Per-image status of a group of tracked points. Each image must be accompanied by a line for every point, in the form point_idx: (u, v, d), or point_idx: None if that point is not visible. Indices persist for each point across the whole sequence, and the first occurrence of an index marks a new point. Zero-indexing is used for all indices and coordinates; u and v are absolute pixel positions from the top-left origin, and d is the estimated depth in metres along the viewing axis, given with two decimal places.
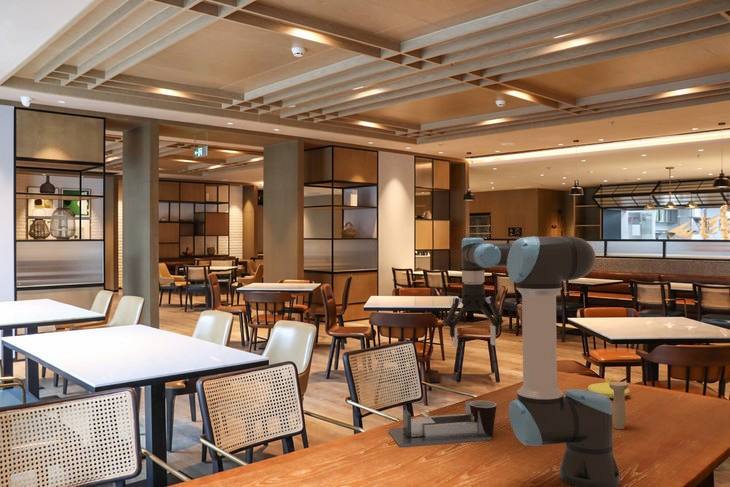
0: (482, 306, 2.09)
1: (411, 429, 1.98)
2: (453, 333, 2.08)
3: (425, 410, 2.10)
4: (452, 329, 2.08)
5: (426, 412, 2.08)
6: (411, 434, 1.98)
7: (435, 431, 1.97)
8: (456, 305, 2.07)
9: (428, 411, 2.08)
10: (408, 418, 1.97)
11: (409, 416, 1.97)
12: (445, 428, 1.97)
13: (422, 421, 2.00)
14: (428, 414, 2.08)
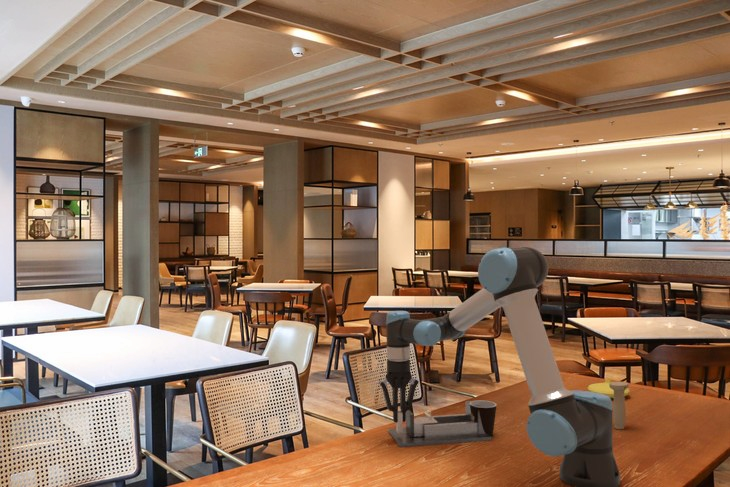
0: (404, 385, 1.98)
1: (414, 429, 1.98)
2: (396, 418, 1.99)
3: (427, 410, 2.10)
4: (395, 414, 1.99)
5: (428, 412, 2.08)
6: (414, 434, 1.98)
7: (435, 431, 1.97)
8: (385, 389, 1.98)
9: (430, 411, 2.08)
10: (411, 418, 1.98)
11: (412, 416, 1.98)
12: (445, 428, 1.97)
13: (425, 421, 2.00)
14: (430, 414, 2.08)
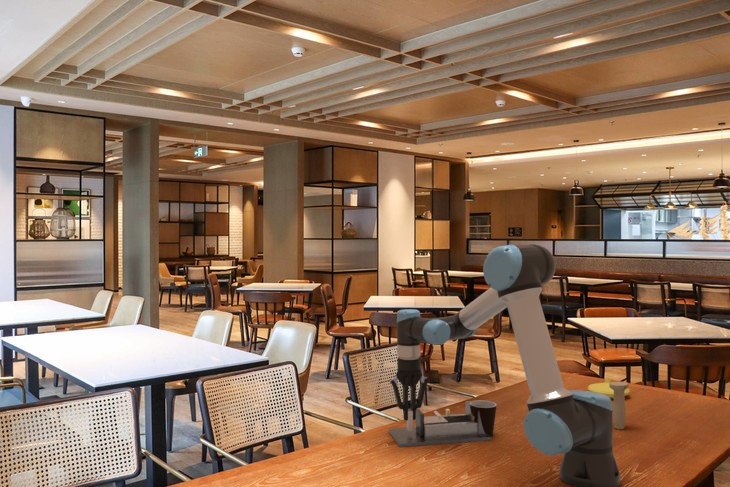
0: (414, 383, 1.99)
1: None
2: (406, 416, 2.00)
3: (446, 409, 2.11)
4: (405, 412, 2.00)
5: (447, 411, 2.09)
6: None
7: (435, 431, 1.97)
8: (395, 387, 1.98)
9: (449, 410, 2.10)
10: (421, 417, 1.98)
11: (422, 415, 1.98)
12: (445, 428, 1.97)
13: (435, 420, 2.01)
14: (449, 413, 2.09)
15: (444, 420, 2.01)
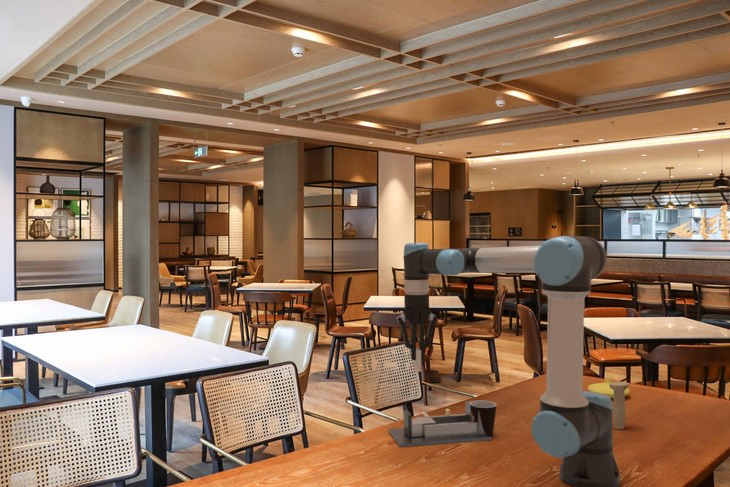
0: (422, 321, 1.87)
1: (412, 429, 1.98)
2: (414, 356, 1.88)
3: (446, 409, 2.11)
4: (413, 352, 1.87)
5: (447, 411, 2.09)
6: (412, 434, 1.98)
7: (435, 431, 1.97)
8: (403, 324, 1.86)
9: (449, 410, 2.10)
10: (409, 418, 1.97)
11: (410, 416, 1.97)
12: (445, 428, 1.97)
13: (422, 421, 2.00)
14: (449, 413, 2.09)
15: (432, 421, 2.00)
